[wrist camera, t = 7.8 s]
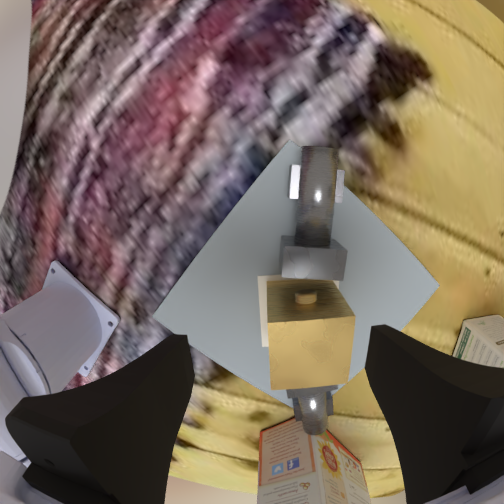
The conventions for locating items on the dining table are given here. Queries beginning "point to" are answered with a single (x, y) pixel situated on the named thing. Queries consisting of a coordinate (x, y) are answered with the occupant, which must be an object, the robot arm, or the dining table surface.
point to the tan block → (308, 334)
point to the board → (267, 269)
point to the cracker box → (307, 468)
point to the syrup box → (482, 341)
